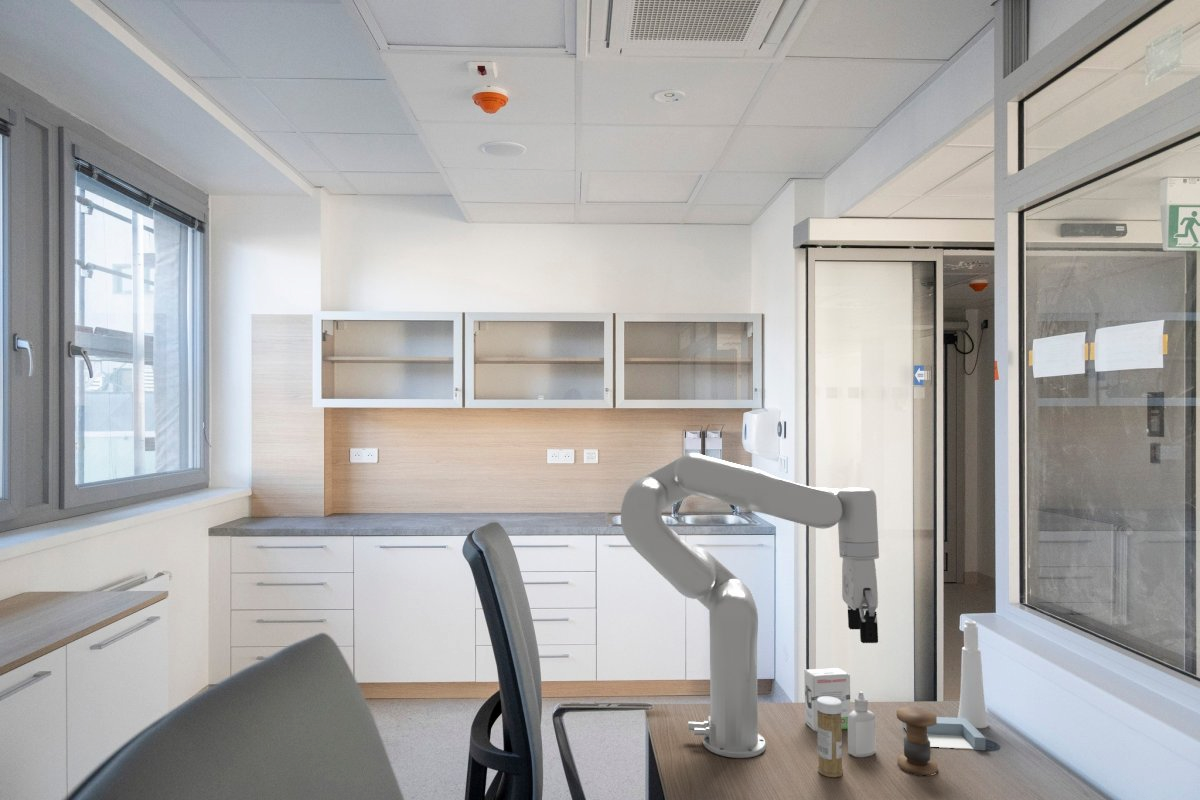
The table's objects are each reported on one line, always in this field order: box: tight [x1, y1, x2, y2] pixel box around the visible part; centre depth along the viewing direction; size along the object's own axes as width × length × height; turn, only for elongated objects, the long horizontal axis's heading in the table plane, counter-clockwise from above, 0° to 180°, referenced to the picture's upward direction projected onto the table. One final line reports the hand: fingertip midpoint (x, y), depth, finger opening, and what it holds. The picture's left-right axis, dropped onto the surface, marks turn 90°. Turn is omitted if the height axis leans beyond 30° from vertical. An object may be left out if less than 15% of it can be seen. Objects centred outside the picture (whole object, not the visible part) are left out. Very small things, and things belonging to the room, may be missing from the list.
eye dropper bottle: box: [847, 690, 877, 758], centre depth 144 cm, size 4×6×12 cm
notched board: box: [902, 716, 986, 751], centre depth 150 cm, size 13×10×2 cm
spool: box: [896, 706, 939, 776], centre depth 138 cm, size 7×7×10 cm
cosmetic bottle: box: [957, 620, 989, 729], centre depth 159 cm, size 6×6×22 cm
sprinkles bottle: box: [817, 696, 844, 778], centre depth 136 cm, size 5×5×13 cm
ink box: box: [803, 667, 852, 732], centre depth 157 cm, size 9×5×12 cm, turn 99°
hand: (862, 635), depth 145 cm, fingers open, 9 cm apart
